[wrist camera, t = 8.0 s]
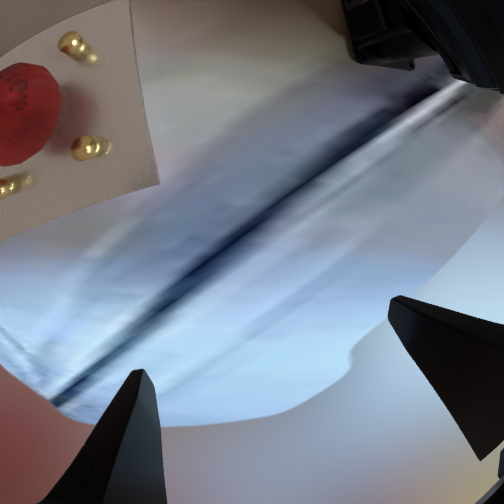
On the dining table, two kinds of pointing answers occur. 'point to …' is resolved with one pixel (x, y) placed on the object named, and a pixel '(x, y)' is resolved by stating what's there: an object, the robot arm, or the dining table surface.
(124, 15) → the plate
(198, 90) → the dining table surface
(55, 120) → the red rounded piece
